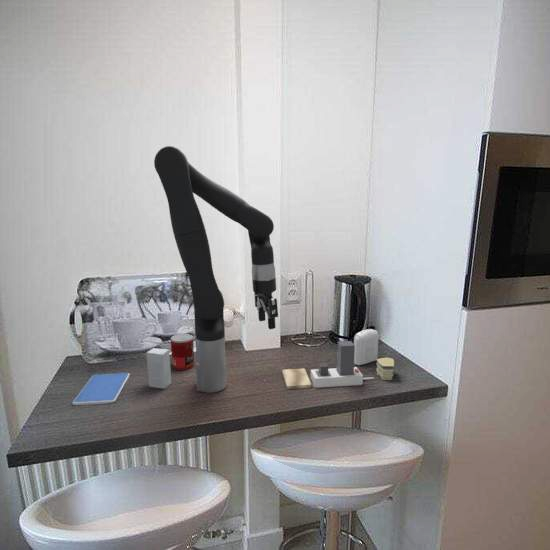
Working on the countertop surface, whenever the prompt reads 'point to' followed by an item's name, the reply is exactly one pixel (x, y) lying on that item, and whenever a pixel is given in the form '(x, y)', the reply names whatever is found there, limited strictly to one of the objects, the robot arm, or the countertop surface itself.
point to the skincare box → (159, 368)
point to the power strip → (335, 377)
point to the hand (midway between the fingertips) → (266, 324)
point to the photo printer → (366, 346)
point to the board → (296, 378)
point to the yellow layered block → (385, 368)
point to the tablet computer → (101, 389)
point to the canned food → (182, 351)
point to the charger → (345, 357)
